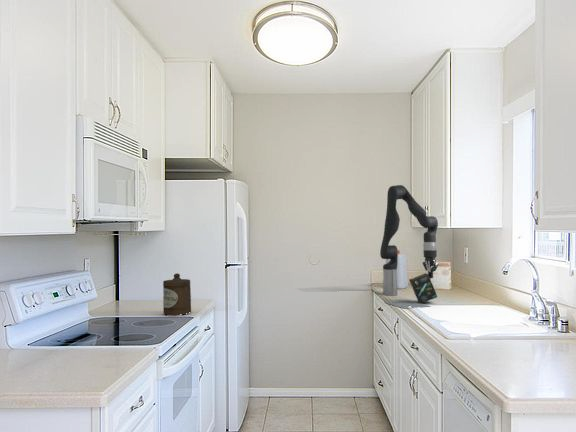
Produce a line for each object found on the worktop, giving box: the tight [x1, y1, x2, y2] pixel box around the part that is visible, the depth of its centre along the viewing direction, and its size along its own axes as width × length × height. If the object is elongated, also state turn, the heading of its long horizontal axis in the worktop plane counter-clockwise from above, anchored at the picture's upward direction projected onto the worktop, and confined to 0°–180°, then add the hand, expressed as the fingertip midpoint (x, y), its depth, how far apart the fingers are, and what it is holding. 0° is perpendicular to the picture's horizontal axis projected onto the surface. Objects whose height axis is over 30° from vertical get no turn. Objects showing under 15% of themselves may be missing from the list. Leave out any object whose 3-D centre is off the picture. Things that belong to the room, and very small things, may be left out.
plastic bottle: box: [385, 249, 409, 290], centre depth 347 cm, size 15×15×28 cm
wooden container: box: [162, 273, 192, 316], centre depth 255 cm, size 15×15×22 cm
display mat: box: [383, 300, 432, 310], centre depth 273 cm, size 22×18×1 cm
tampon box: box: [408, 272, 438, 304], centre depth 279 cm, size 11×9×15 cm
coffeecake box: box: [430, 261, 452, 291], centre depth 339 cm, size 15×7×20 cm, turn 58°
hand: (430, 278), depth 279 cm, fingers closed
